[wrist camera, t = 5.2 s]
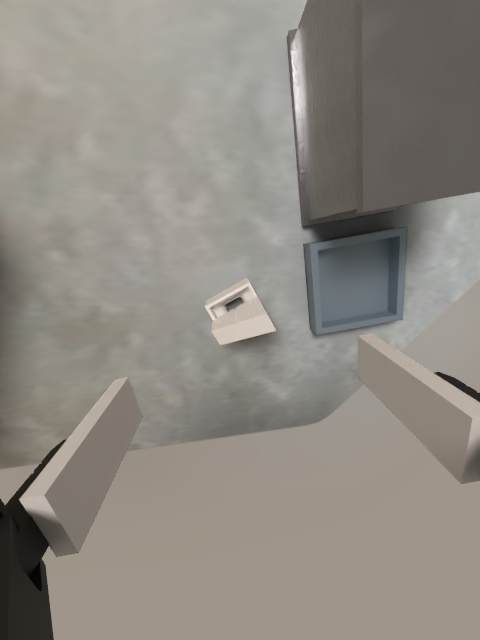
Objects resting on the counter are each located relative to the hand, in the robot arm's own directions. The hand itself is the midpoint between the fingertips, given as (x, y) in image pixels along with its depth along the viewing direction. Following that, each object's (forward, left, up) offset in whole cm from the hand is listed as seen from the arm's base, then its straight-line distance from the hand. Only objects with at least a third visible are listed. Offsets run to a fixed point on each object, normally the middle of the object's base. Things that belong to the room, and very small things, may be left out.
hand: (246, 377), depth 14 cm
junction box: (+15, +16, -18) cm, 28 cm away
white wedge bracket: (0, 0, -18) cm, 18 cm away
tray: (+15, 0, -18) cm, 23 cm away
